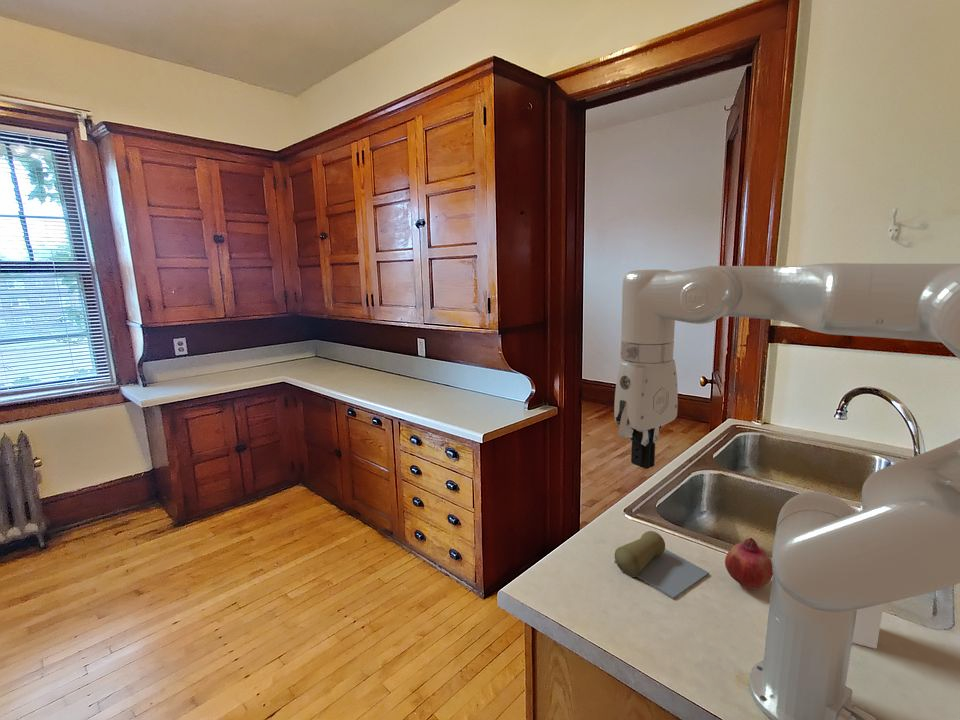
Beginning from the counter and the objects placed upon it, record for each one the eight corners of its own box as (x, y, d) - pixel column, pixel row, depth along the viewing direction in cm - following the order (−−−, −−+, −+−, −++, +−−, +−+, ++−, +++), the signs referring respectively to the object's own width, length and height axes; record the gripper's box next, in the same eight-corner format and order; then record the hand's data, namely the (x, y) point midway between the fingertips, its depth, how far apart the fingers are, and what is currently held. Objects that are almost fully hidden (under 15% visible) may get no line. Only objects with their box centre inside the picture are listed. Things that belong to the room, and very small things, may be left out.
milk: (831, 638, 78) (846, 518, 74) (824, 613, 84) (837, 500, 79) (877, 649, 76) (896, 526, 71) (867, 623, 81) (883, 507, 77)
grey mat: (709, 574, 95) (709, 572, 95) (673, 599, 89) (673, 597, 88) (650, 542, 106) (650, 540, 106) (614, 562, 100) (614, 560, 100)
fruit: (780, 590, 90) (785, 543, 88) (752, 604, 87) (757, 556, 84) (741, 567, 97) (745, 523, 95) (714, 579, 94) (718, 534, 92)
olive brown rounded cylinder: (641, 581, 93) (671, 558, 100) (638, 552, 93) (668, 531, 99) (616, 570, 98) (646, 549, 105) (612, 543, 98) (643, 523, 104)
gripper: (635, 363, 64) (631, 487, 68) (698, 349, 72) (691, 460, 76) (593, 355, 70) (592, 469, 74) (656, 343, 78) (651, 446, 82)
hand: (642, 464), depth 75 cm, fingers closed
